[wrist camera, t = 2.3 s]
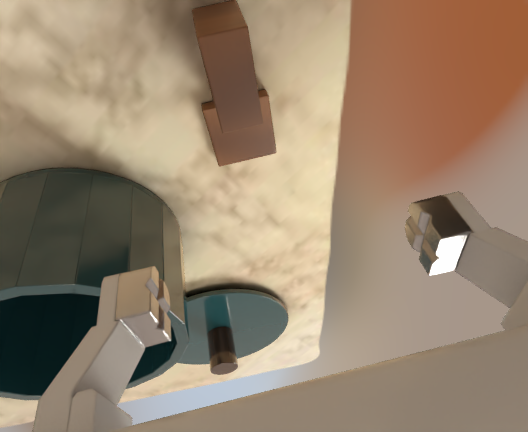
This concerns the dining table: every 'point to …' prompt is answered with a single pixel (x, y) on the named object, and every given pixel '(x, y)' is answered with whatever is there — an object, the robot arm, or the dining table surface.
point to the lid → (231, 326)
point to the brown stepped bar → (232, 86)
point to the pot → (78, 269)
